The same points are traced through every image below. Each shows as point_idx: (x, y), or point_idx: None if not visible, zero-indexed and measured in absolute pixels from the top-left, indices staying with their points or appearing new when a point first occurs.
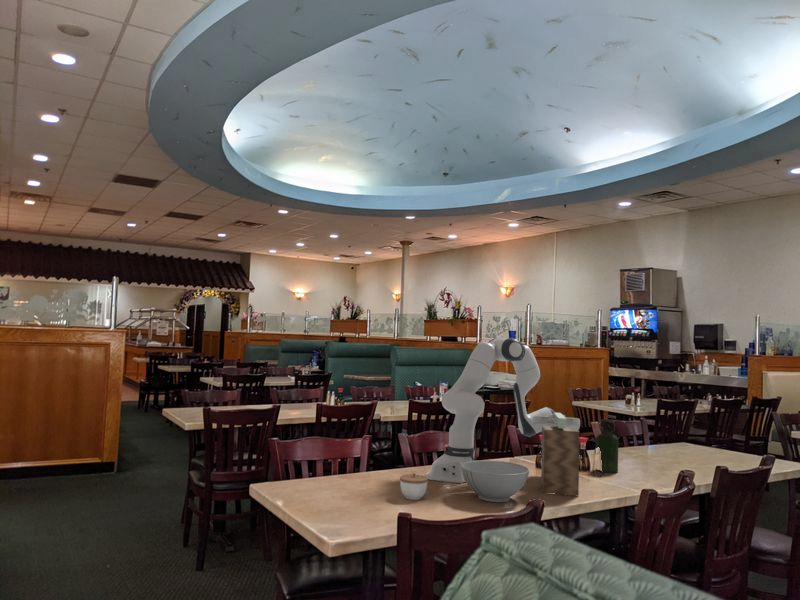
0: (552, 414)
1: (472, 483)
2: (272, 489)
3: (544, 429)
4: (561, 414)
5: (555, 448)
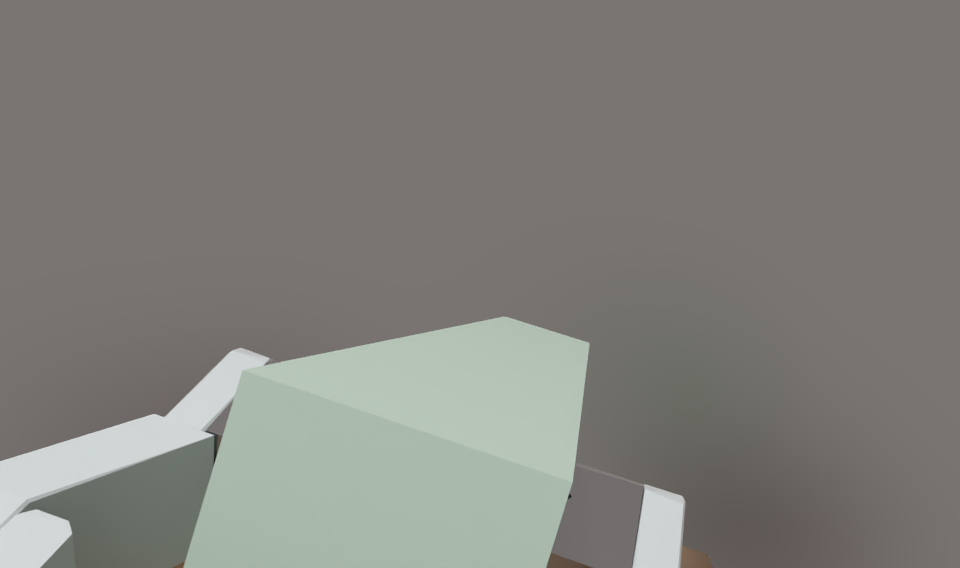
0: (632, 485)
1: None
2: None
3: (709, 563)
4: (425, 342)
5: None
